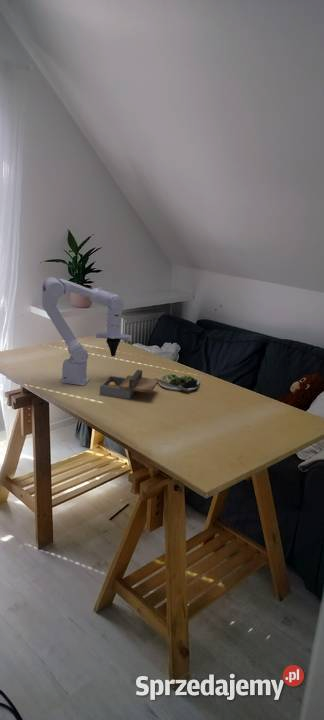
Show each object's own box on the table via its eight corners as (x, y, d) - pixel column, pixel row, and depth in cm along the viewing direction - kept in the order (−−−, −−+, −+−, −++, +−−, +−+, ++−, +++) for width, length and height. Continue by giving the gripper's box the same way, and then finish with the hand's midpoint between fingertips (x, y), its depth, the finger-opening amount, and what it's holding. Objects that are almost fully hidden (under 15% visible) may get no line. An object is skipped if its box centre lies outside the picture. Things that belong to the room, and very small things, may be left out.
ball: (107, 390, 203) (107, 382, 202) (109, 387, 206) (109, 380, 205) (114, 391, 202) (114, 384, 201) (116, 388, 205) (116, 381, 204)
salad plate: (148, 389, 209) (149, 379, 207) (157, 375, 225) (158, 365, 224) (195, 396, 206) (196, 385, 204) (201, 381, 222) (202, 371, 221)
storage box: (99, 394, 199) (100, 385, 198) (109, 384, 210) (109, 375, 209) (129, 399, 197) (130, 390, 196) (137, 388, 208) (138, 379, 207)
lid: (119, 388, 196) (119, 378, 195) (128, 377, 208) (128, 368, 207) (151, 393, 194) (151, 383, 193) (158, 382, 206) (158, 372, 204)
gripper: (94, 324, 206) (93, 356, 210) (129, 328, 204) (128, 360, 208) (98, 320, 212) (98, 351, 217) (133, 323, 210) (131, 355, 215)
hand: (113, 355), depth 213 cm, fingers closed
